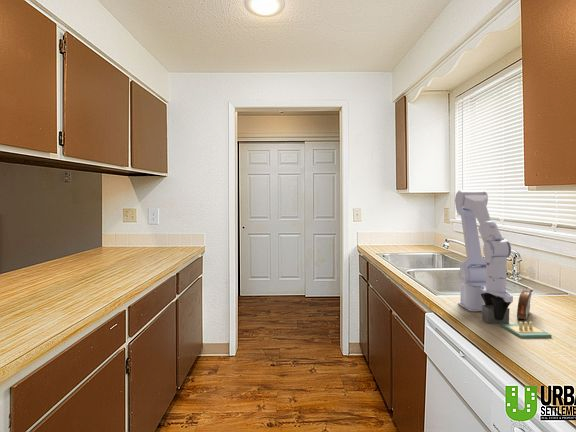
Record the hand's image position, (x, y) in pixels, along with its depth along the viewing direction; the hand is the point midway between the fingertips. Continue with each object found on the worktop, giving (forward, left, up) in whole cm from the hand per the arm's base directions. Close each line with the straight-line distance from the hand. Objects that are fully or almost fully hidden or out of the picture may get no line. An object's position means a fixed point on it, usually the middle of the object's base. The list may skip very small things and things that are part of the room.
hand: (495, 317), depth 117 cm
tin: (-5, +13, -2) cm, 14 cm away
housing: (0, 0, -1) cm, 1 cm away
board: (+9, +4, -1) cm, 10 cm away
